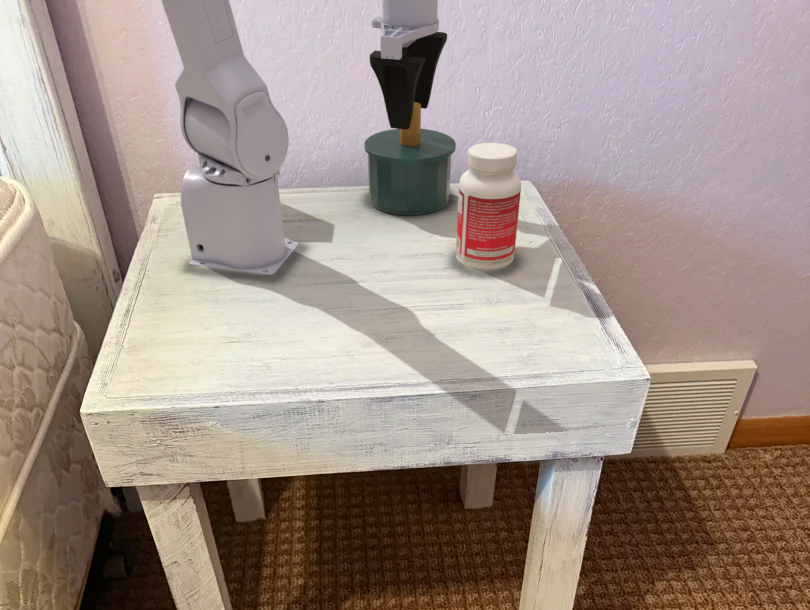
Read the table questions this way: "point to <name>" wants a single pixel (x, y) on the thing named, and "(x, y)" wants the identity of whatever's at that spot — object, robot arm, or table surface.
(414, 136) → the lid
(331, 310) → the table surface
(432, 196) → the tin
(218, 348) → the table surface
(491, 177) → the pill bottle
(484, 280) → the table surface
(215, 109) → the robot arm
